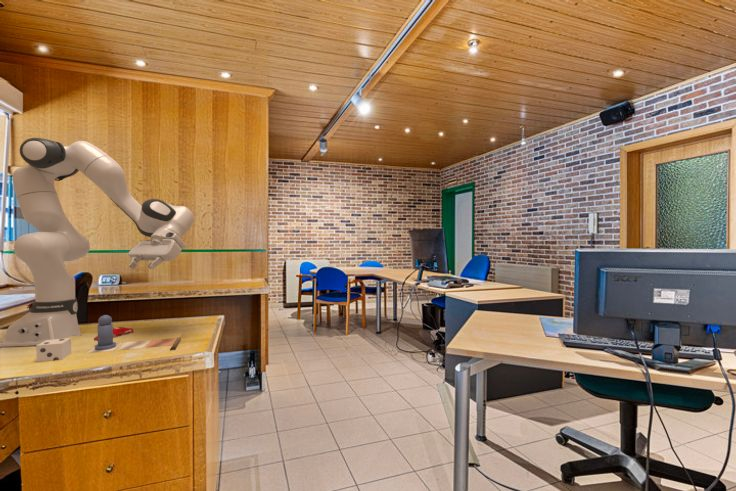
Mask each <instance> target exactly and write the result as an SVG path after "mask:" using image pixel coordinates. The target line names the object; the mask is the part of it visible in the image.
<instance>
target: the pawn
mask: <svg viewBox="0 0 736 491" xmlns="http://www.w3.org/2000/svg"><path fill="white" fill-rule="evenodd" d="M112 321H113V319H112V316H110V315H108V314H104V315H101V316H100V317H99V318H98V320H97V322H98V325H97V336H98V341H97V344H95V345H94V347H95V350H107V349H111V348H114V347H116V343H117V342H115V341H114V338H113V328H114V326H113V325H114V324H113V322H112Z"/></svg>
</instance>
